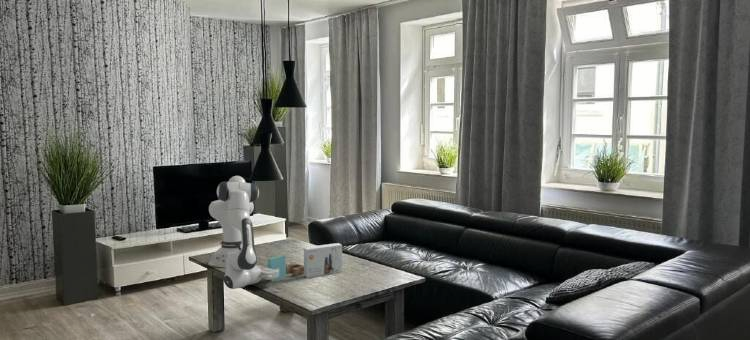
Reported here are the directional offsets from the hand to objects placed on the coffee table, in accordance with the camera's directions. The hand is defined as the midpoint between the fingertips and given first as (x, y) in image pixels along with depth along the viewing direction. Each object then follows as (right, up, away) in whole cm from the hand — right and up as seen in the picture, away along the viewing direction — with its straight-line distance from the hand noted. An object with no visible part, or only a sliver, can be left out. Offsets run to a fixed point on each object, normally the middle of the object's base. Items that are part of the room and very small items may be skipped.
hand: (274, 268), depth 309 cm
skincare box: (+26, -5, +9) cm, 27 cm away
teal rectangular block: (+1, -6, +2) cm, 6 cm away
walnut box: (+10, -5, +12) cm, 16 cm away
